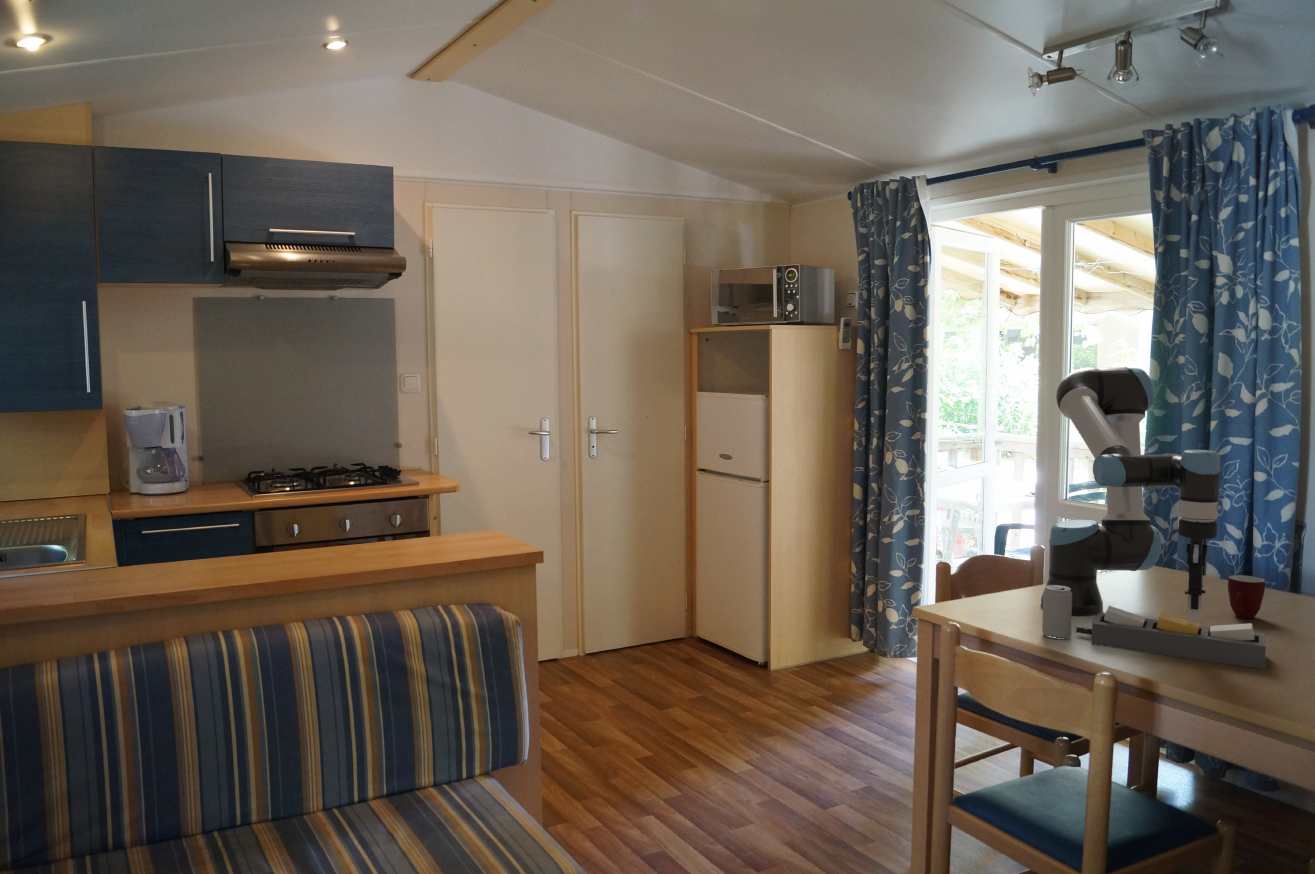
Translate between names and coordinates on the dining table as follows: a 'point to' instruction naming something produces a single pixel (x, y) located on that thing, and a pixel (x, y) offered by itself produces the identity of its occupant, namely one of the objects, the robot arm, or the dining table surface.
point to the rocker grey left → (1123, 617)
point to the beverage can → (1057, 611)
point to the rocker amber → (1176, 624)
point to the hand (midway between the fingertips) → (1193, 622)
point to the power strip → (1178, 642)
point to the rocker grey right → (1233, 631)
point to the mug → (1245, 595)
